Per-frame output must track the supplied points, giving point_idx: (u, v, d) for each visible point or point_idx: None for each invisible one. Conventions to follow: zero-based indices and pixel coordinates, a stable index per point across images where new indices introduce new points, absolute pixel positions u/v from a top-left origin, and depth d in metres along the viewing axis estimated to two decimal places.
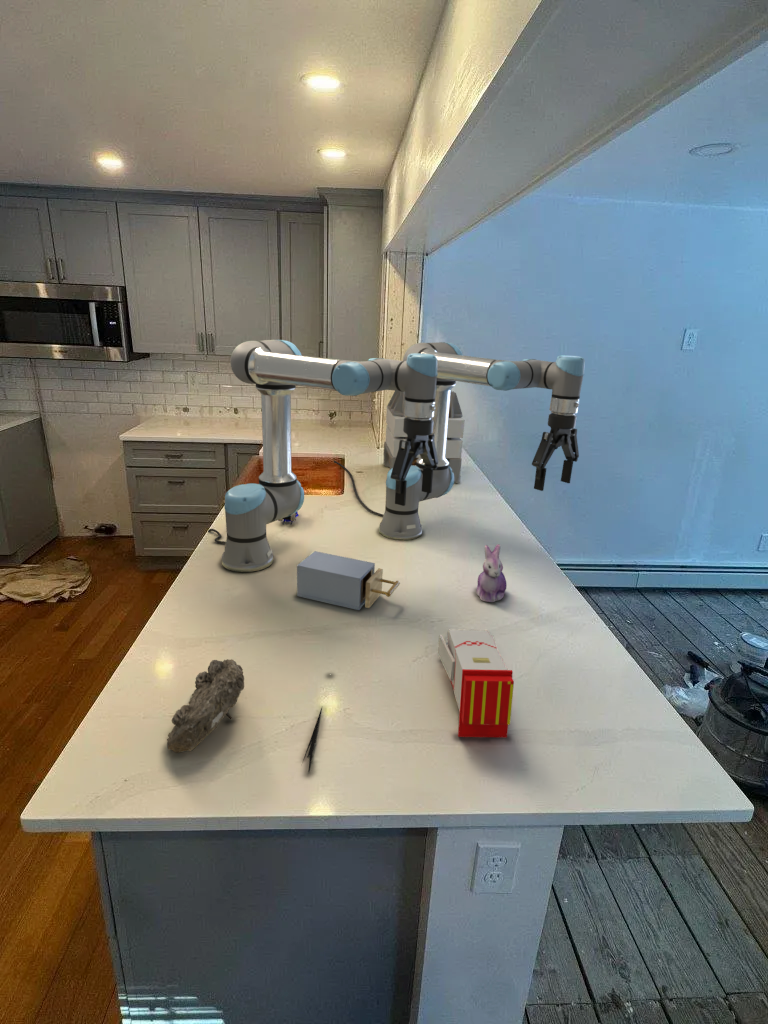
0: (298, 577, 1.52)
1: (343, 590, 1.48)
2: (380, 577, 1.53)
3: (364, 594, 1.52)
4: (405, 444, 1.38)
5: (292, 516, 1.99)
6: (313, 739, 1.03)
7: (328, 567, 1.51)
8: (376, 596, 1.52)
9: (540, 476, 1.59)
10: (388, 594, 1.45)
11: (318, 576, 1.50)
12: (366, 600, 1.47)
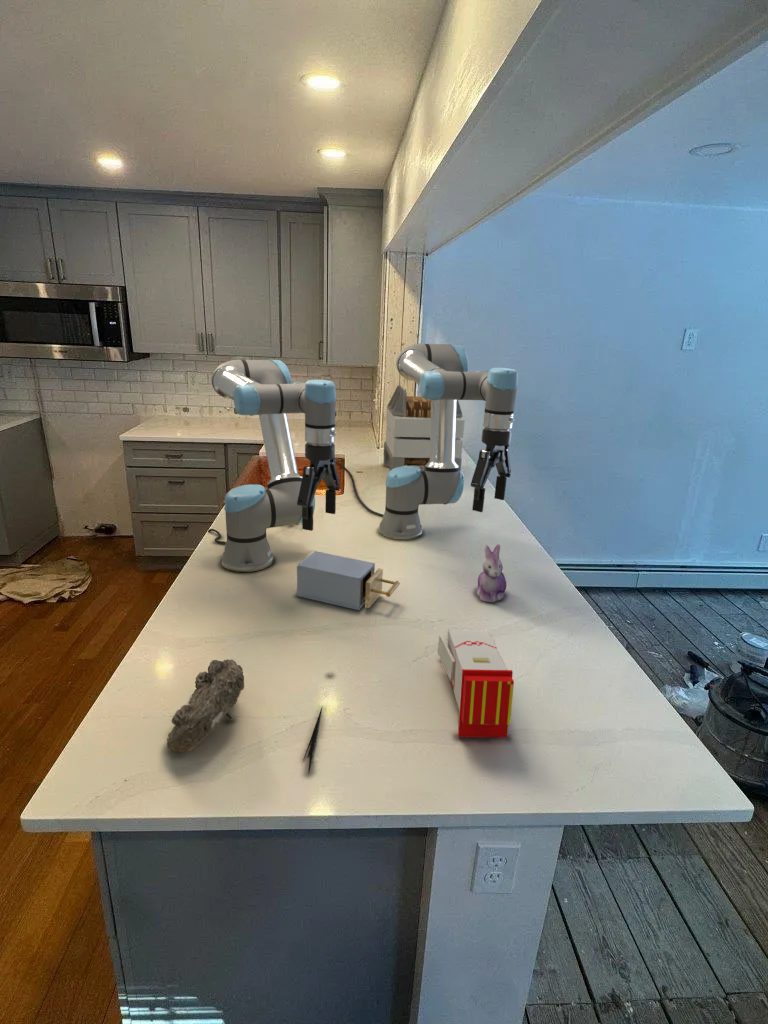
0: (298, 577, 1.52)
1: (343, 590, 1.48)
2: (380, 577, 1.53)
3: (364, 594, 1.52)
4: (309, 470, 1.39)
5: None
6: (313, 739, 1.03)
7: (328, 567, 1.51)
8: (376, 596, 1.52)
9: (479, 497, 1.49)
10: (388, 594, 1.45)
11: (318, 576, 1.50)
12: (366, 600, 1.47)
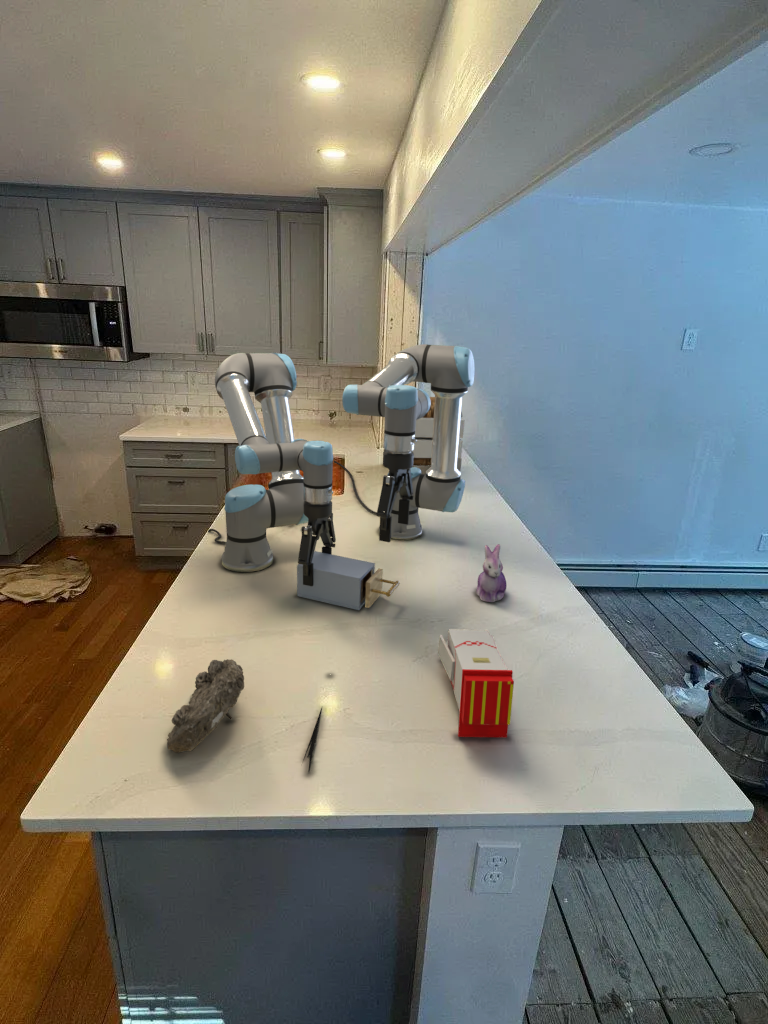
0: (298, 577, 1.52)
1: (343, 590, 1.48)
2: (380, 577, 1.53)
3: (364, 594, 1.52)
4: (307, 531, 1.45)
5: None
6: (313, 739, 1.03)
7: (328, 567, 1.51)
8: (376, 596, 1.52)
9: (386, 526, 1.36)
10: (388, 594, 1.45)
11: (318, 576, 1.50)
12: (366, 600, 1.47)
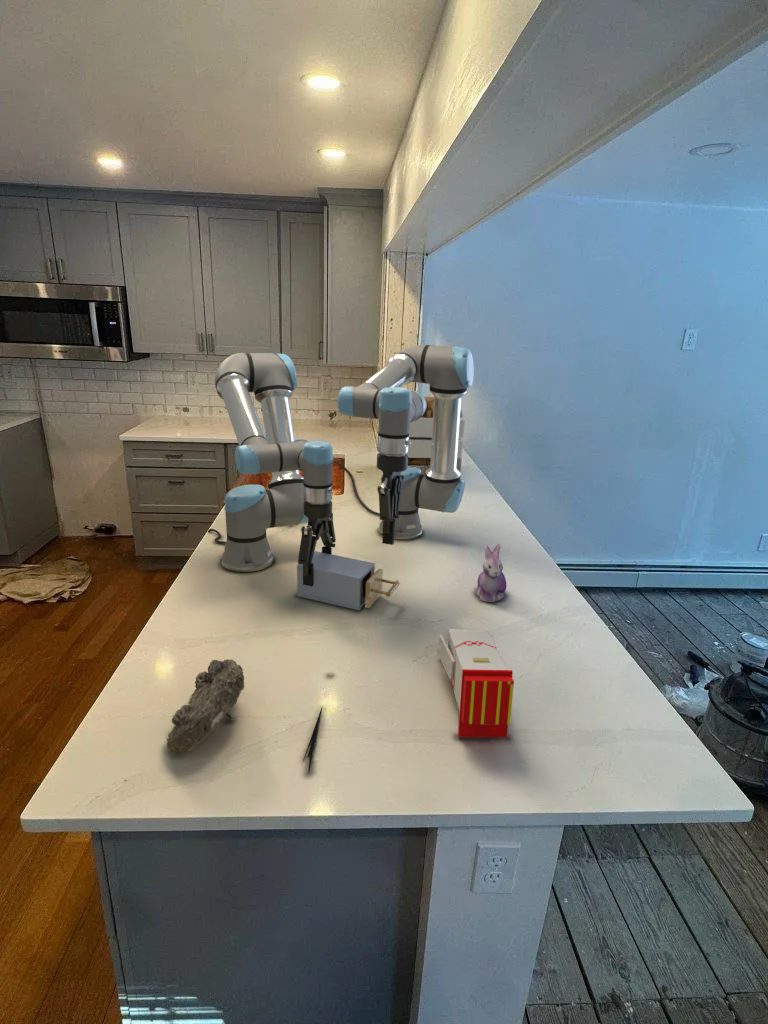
0: (298, 577, 1.52)
1: (343, 590, 1.48)
2: (380, 577, 1.53)
3: (364, 594, 1.52)
4: (307, 531, 1.45)
5: None
6: (313, 739, 1.03)
7: (328, 567, 1.51)
8: (376, 596, 1.52)
9: (389, 530, 1.42)
10: (388, 594, 1.45)
11: (318, 576, 1.50)
12: (366, 600, 1.47)
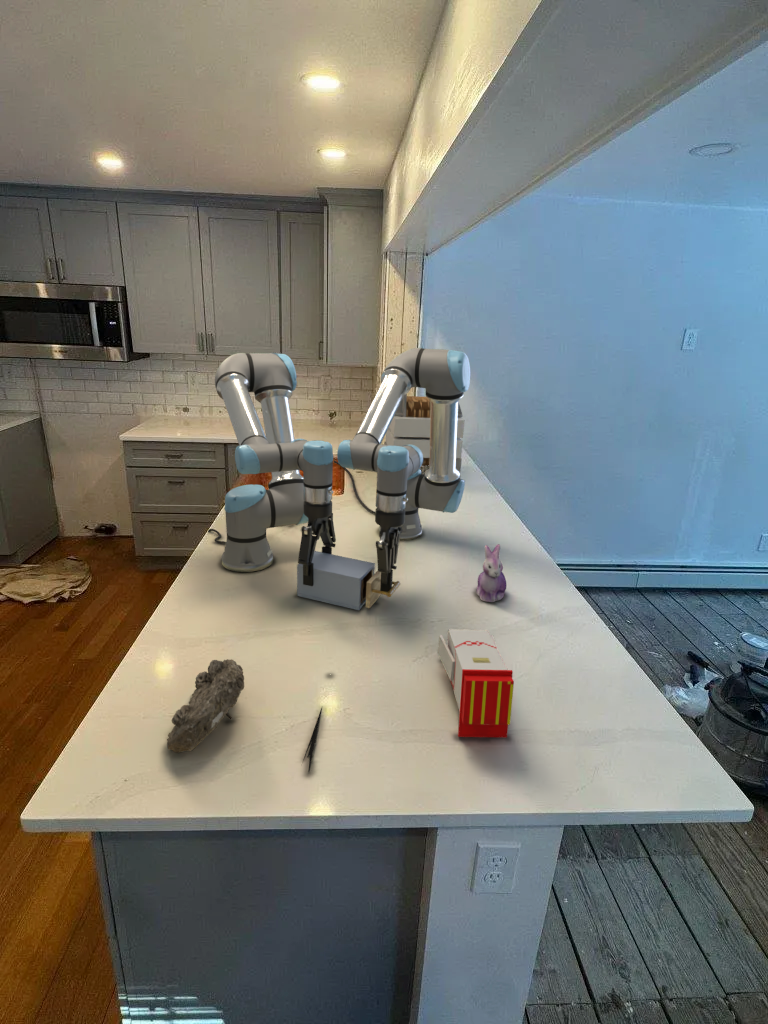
0: (298, 577, 1.52)
1: (343, 590, 1.48)
2: None
3: (365, 594, 1.52)
4: (307, 531, 1.45)
5: None
6: (313, 739, 1.03)
7: (328, 567, 1.51)
8: (377, 596, 1.52)
9: (387, 580, 1.47)
10: (389, 594, 1.45)
11: (318, 576, 1.50)
12: (367, 600, 1.47)
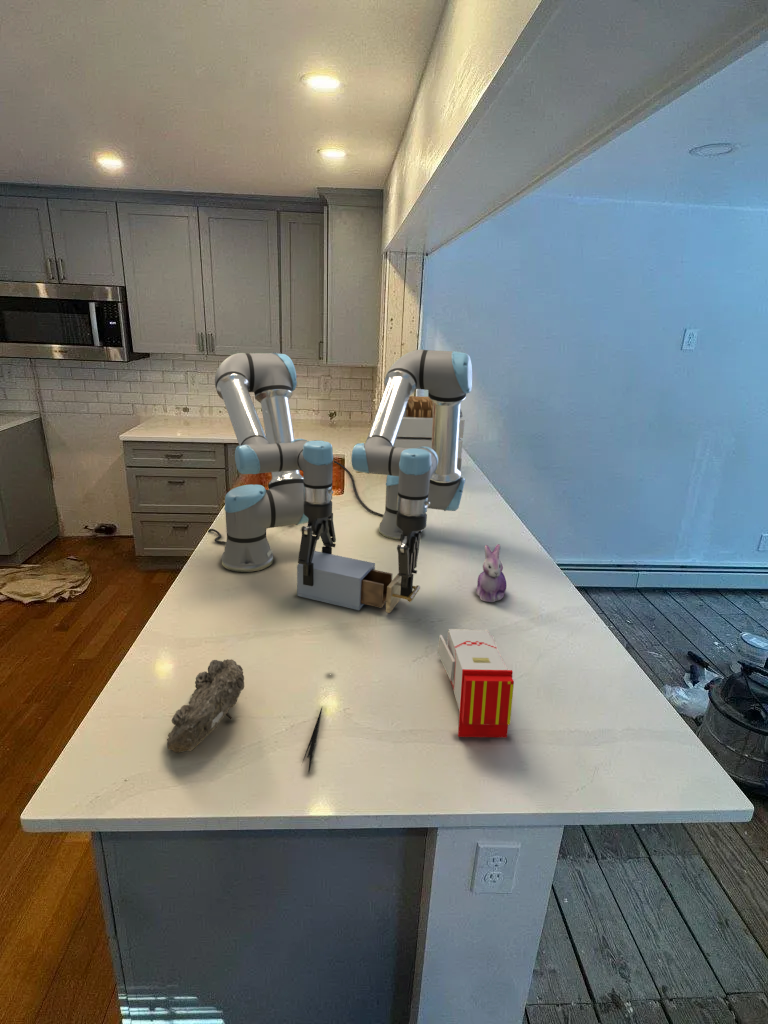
0: (298, 577, 1.52)
1: (343, 590, 1.48)
2: (400, 581, 1.51)
3: (384, 599, 1.50)
4: (307, 531, 1.45)
5: None
6: (313, 739, 1.03)
7: (328, 567, 1.50)
8: (396, 601, 1.50)
9: (407, 585, 1.45)
10: (409, 599, 1.44)
11: (318, 576, 1.50)
12: (387, 605, 1.45)
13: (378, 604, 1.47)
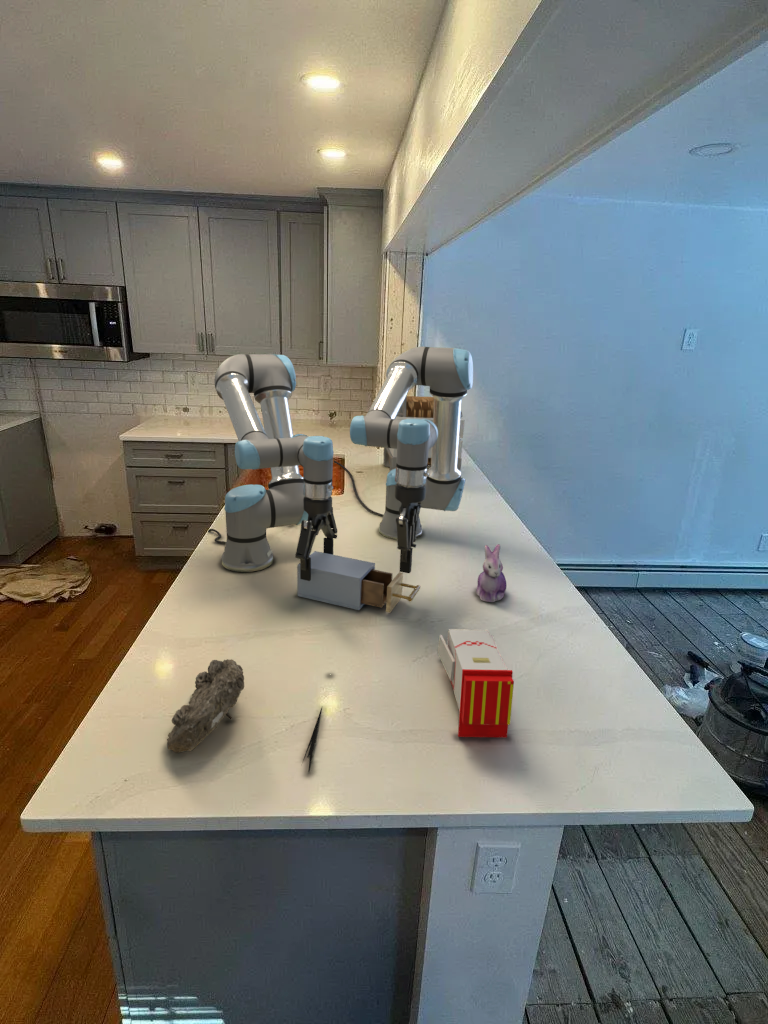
0: (298, 577, 1.52)
1: (343, 590, 1.48)
2: (400, 581, 1.51)
3: (384, 598, 1.50)
4: (307, 524, 1.44)
5: None
6: (313, 739, 1.03)
7: (328, 567, 1.51)
8: (396, 600, 1.50)
9: (407, 559, 1.43)
10: (410, 599, 1.44)
11: (318, 576, 1.50)
12: (387, 605, 1.46)
13: (378, 604, 1.47)
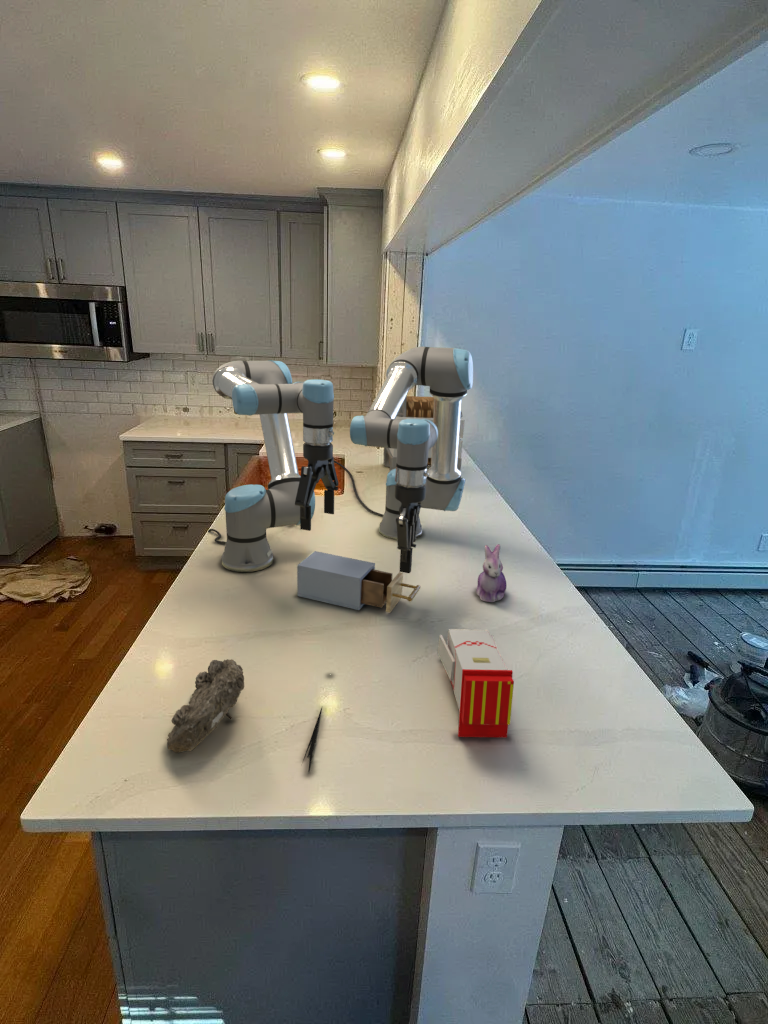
0: (298, 577, 1.52)
1: (343, 590, 1.48)
2: (400, 581, 1.51)
3: (384, 598, 1.50)
4: (307, 470, 1.39)
5: None
6: (313, 739, 1.03)
7: (328, 567, 1.51)
8: (396, 600, 1.50)
9: (407, 559, 1.43)
10: (410, 599, 1.44)
11: (318, 576, 1.50)
12: (387, 605, 1.46)
13: (378, 604, 1.47)
